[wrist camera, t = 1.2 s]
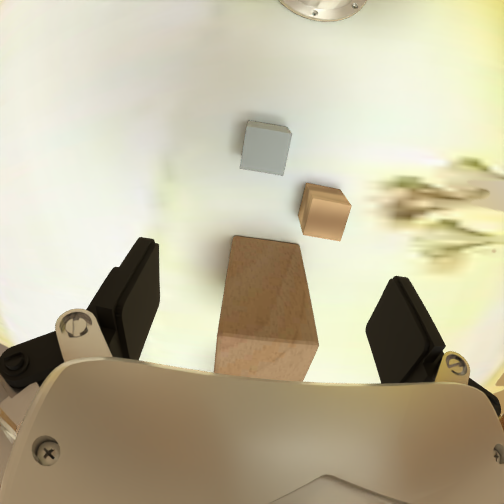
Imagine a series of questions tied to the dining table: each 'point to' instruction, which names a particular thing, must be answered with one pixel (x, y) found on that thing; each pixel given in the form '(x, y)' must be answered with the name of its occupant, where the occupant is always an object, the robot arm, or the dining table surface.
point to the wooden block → (265, 313)
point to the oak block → (323, 212)
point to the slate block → (265, 148)
